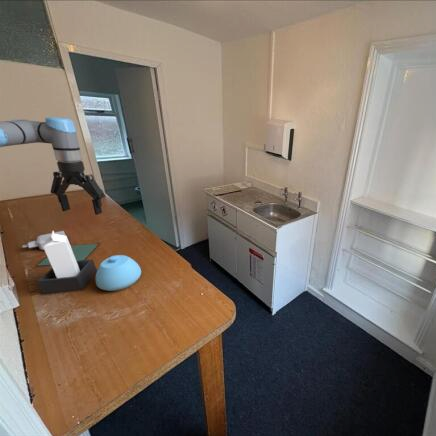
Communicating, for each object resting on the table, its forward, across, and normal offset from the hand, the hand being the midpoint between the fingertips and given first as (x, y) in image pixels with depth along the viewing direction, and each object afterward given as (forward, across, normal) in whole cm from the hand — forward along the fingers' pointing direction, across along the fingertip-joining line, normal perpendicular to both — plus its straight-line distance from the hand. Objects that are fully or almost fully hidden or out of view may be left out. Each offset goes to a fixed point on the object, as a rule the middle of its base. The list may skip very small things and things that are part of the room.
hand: (82, 211), depth 97 cm
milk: (+25, -3, +15) cm, 29 cm away
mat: (+24, +14, -3) cm, 29 cm away
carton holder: (+24, -3, +15) cm, 29 cm away
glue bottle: (+25, +31, -9) cm, 41 cm away
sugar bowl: (+24, -21, +12) cm, 34 cm away
